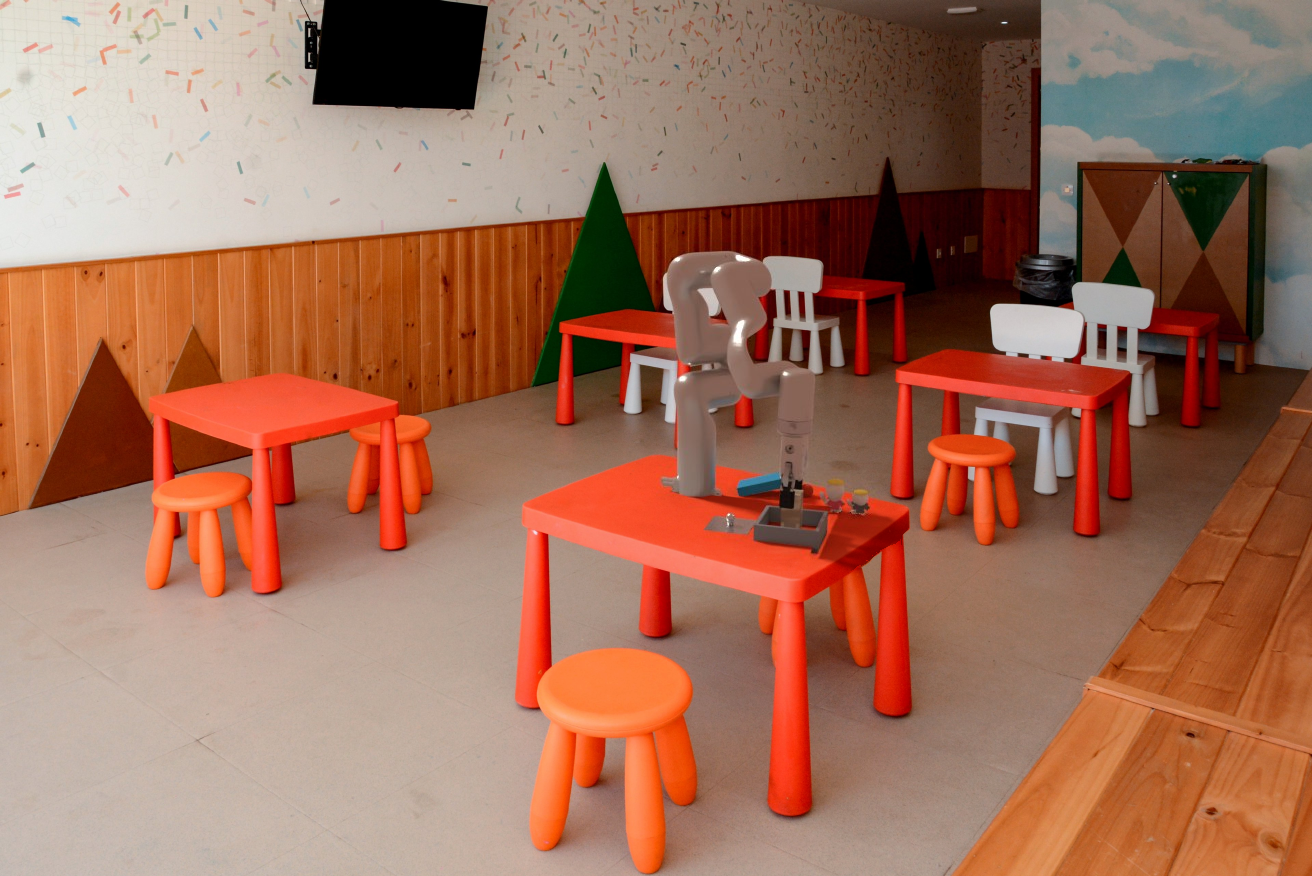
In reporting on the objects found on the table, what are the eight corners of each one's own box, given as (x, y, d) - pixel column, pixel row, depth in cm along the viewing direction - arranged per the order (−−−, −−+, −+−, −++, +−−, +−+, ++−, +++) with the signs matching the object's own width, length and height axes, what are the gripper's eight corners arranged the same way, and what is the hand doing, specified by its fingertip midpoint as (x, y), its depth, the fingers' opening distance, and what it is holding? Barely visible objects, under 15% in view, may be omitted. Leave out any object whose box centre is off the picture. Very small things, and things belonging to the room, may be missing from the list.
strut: (798, 539, 232) (800, 495, 230) (780, 537, 233) (781, 493, 231) (801, 533, 236) (803, 490, 233) (783, 531, 237) (785, 488, 234)
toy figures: (870, 512, 253) (872, 478, 251) (869, 518, 249) (871, 484, 247) (819, 508, 256) (821, 475, 254) (817, 513, 252) (819, 480, 250)
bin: (753, 546, 230) (753, 524, 229) (766, 525, 243) (766, 505, 242) (817, 553, 226) (818, 531, 225) (827, 532, 239) (828, 511, 238)
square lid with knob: (703, 536, 237) (703, 517, 235) (714, 521, 246) (714, 504, 245) (747, 541, 234) (747, 522, 233) (756, 526, 243) (757, 508, 242)
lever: (743, 514, 266) (814, 500, 261) (736, 488, 264) (807, 473, 260) (746, 505, 272) (815, 491, 268) (739, 480, 271) (808, 465, 266)
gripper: (805, 438, 219) (800, 515, 224) (818, 417, 235) (813, 490, 240) (769, 434, 221) (765, 511, 226) (785, 414, 237) (781, 487, 242)
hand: (790, 500), depth 233 cm, fingers open, 9 cm apart
